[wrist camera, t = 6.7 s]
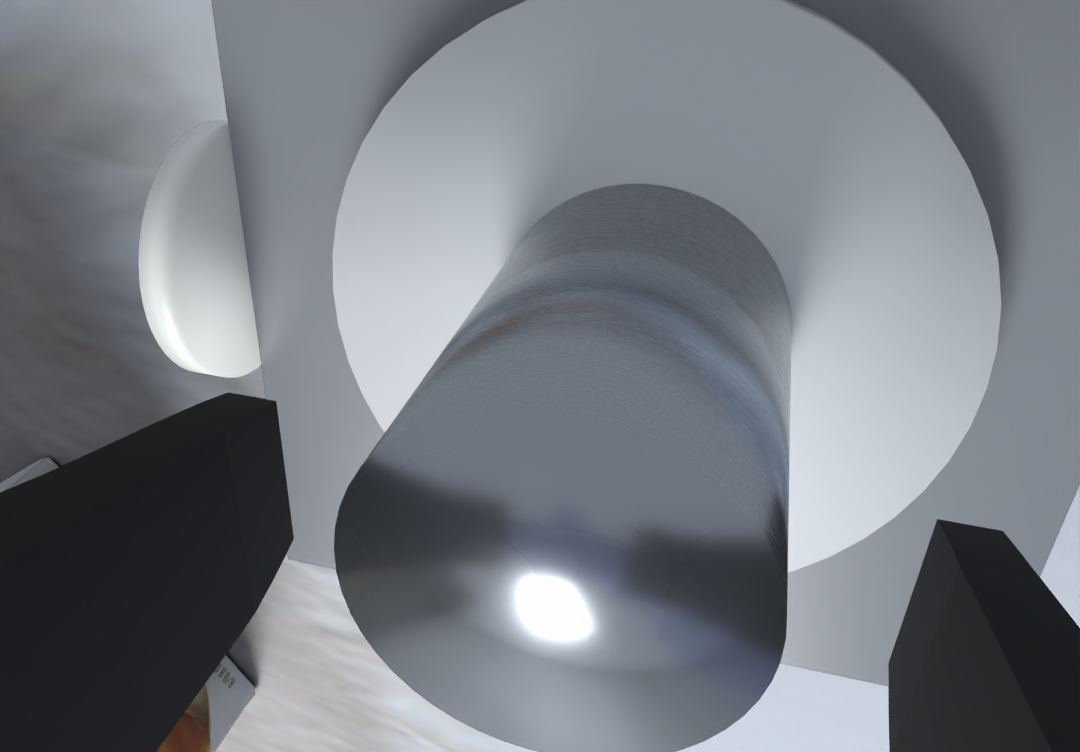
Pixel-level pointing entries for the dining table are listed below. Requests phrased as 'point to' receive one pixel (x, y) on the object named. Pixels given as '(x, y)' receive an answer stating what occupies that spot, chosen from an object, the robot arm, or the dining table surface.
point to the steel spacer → (591, 487)
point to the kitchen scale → (678, 162)
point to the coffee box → (218, 698)
